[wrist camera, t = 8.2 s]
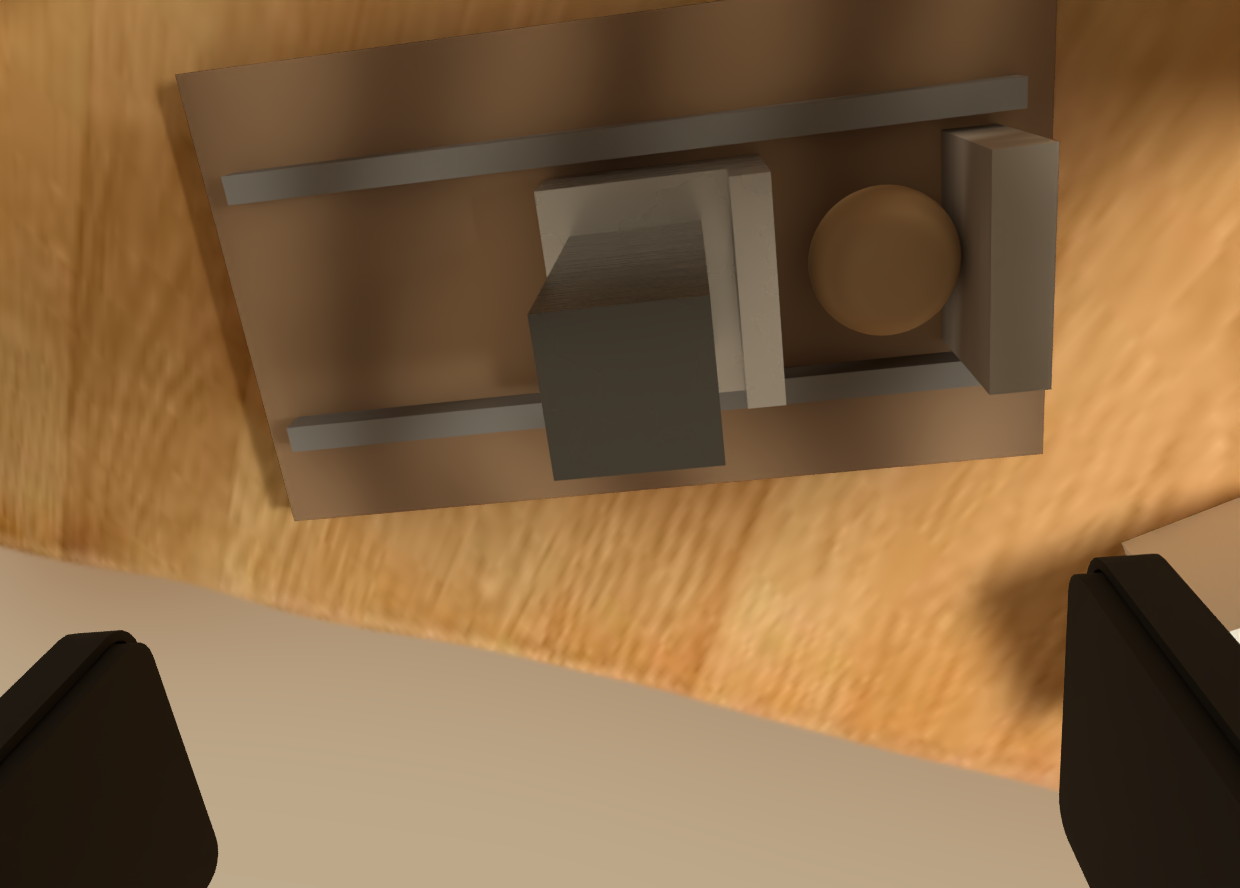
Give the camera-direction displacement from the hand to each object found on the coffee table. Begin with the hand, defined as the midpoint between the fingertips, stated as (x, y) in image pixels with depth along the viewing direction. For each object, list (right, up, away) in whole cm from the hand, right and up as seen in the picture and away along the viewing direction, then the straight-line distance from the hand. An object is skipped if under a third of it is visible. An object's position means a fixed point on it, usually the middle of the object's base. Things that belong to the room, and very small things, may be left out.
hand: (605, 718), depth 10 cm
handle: (+1, +8, +19) cm, 21 cm away
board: (0, +8, +21) cm, 23 cm away
